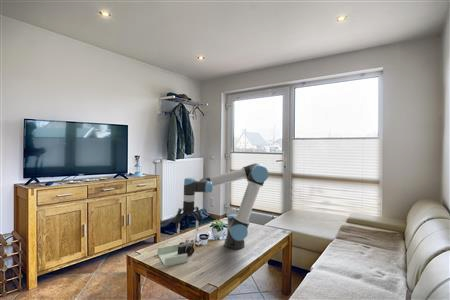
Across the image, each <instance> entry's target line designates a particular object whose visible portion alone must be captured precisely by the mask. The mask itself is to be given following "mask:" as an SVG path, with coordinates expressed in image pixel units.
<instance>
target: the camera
mask: <svg viewBox="0 0 450 300" xmlns="http://www.w3.org/2000/svg"><path fill="white" fill-rule="evenodd" d="M194 247H195V240H193V239H185V241H181V242H179V243H178V255H182V254H187V255H189V256H190V255H193V254H194V252H195V248H194Z"/></svg>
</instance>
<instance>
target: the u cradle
mask: <svg viewBox="0 0 450 300" xmlns="http://www.w3.org/2000/svg"><path fill="white" fill-rule="evenodd" d="M178 245H179V243H175V244H170V245H169V244H168V245H164V246H163V245H162V246H158V247H157V256H158V258H159V259H160V261H161V263H162V264H163V266H164V267H165V268H167V267H168V268H169V267H172V266H177V265H180V264H181V265H182V264H185V263H188V254H181V255H178Z"/></svg>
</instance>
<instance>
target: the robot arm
mask: <svg viewBox="0 0 450 300" xmlns="http://www.w3.org/2000/svg"><path fill="white" fill-rule="evenodd" d="M268 178H269V170H268V168H267V167H266V166H265V165H263V164H259V163H251V164H249V165H246V166H243V167H242V168H239V169H236V170H232V171H229V172H224V173H221V174H217V175H214V176H209V177H206V178H205V177H202V178H201V179H199V180H196V178H195V177H185V178H184V181H183V201H182V202H183V203H182V206H183V207H182V208H180V207H179V208H178V210H177V213H176V215H175V217H174V218H173V221H172V222H173V224H175V229H176V233H177V234H180V233H181V232H180V230H181V229H180V227H181V223H180V222H181V221H182V220H183V218H184V217H185V216H186V215H187V216H189V215H192V216H193V217H194V218H195V219H196V220H195V231H197V232H199V226H200V223H201V221H202V220H203V217H202V215H201V213H200V209H199V208H200V207H198V206H195V201H196V200H195V198H196V197H195V196H196V194H195V193H206V194H207V193H212V192H213V188H214V187H218V186H221V185H225V184H228V183H232V182H237V181H240V180H246V181H247V186H246V188H245V192H244V194H243V197H242V199H241V202H240V205H239V209H238V211H237V213H236V214H235V213H233V214H229V215H227V227H226V229H227V231H226V238H225V240H224V247H226V248H227V249H231V250H240V249H243V248H245V239H246V238H247V236H248V234H249V229H248V228H249V226H250V220H249V219H250V217H251V214H252V210H253V208H254V205H255V202H256V200H257V197H258V194H259V192H260V189H261V187H263V186H264V183H265V181H267V179H268ZM195 212H196V213H195Z"/></svg>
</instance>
